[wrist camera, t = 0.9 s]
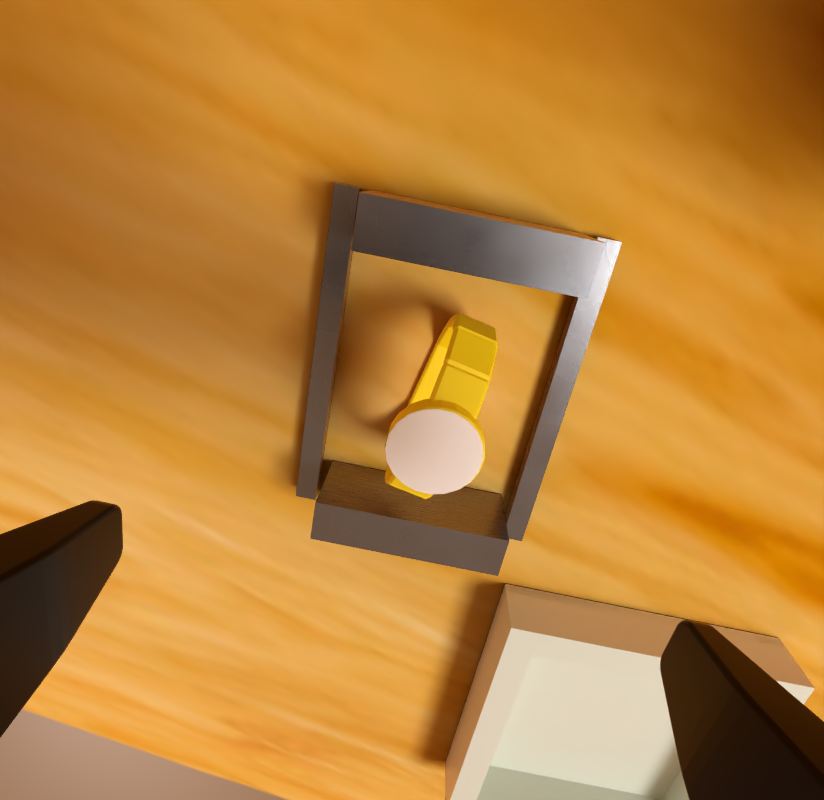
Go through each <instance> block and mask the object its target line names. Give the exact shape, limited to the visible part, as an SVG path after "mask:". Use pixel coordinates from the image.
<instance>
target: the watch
mask: <svg viewBox="0 0 824 800" xmlns="http://www.w3.org/2000/svg"><path fill="white" fill-rule="evenodd" d="M497 347H498V341H497V334H496V330H495V328H494V327H492V326H489V325H487V324H485V323H482V322H480V321H478V320H475V319H473V318H471V317H468V316H466V315H464V314H462V313H457V314H455V315H454V316H453V317H451V318H450V319H449V321H448V322H447V324H446V325H445V327H444V329H443V330H442V332H441V334H440V336H439V337H438V340H437V342H436V344H435V346H434V349H433V351H432V353H431V355H430V357H429V360H428V362H427V364H426V366H425V368H424V370H423V373H422V375H421V377H420V379H419V381H418V384H417V386H416V388H415V390H414V392H413V395H412V397H411V398H410V399H409V403H408V405H407V407H406V408H404V409H403V410H402V411H400V412H399V413H398V414H397V416H396V417H395V419H394V420H393V422H392V423H391V425H390V429H389V432H388V436H387V440H386V444H385V450H386V459H387V468H386V474H385V482H386V484H389V485H391V486H394V487H396V488H399V489H401V490H404V491H406V492H409V493H411V494H414V495H416V496H419V497H421V498H424V499H428V498H430V497H431V496H432V495H433V494H446V493H449V492H453V491H456V490H459V489H461V488H463V487H464V486H466V485H467V484H469V483H470V482H472V481H473V479H474V478H475V477H476V476H477V475H478V473H479V472H480V471H481V469H482V466H483V463H484V460H485V437H484V433H483V430H482V428H481V425H480V423H479V421H478V420H477V416H478V413H479V410H480V408H481V405H482V402H483V400H484V397H485V394H486V392H487V389H488V386H489V381H490V379H491V376H492V372H493V367H494V363H495V359H496V354H497V350H498V348H497Z"/></svg>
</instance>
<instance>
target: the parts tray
mask: <svg viewBox="0 0 824 800" xmlns="http://www.w3.org/2000/svg"><path fill="white" fill-rule="evenodd" d="M682 620H685V619H680V618H675V617H670V616H665V615H660V614H655V613H650V612H645V611H640V610H635V609H630V608H625V607H620V606H615V605H610V604H605V603H600V602H595V601H590V600H585V599H580V598H575V597H570V596H565V595H559V594H554V593H549V592H544V591H539V590H534V589H529V588H524V587H519V586H514V585H509V584H505V586H504V589H503V592H502V595H501V598H500V601H499V604H498V607H497V610H496V613H495V616H494V619H493V622H492V625H491V628H490V631H489V634H488V637H487V640H486V643H485V646H484V649H483V652H482V655H481V658H480V661H479V664H478V667H477V670H476V673H475V676H474V679H473V682H472V685H471V688H470V691H469V694H468V697H467V700H466V703H465V706H464V709H463V712H462V715H461V718H460V721H459V724H458V727H457V730H456V733H455V736H454V739H453V742H452V745H451V748H450V750H449V753H448V756H447V759H446V762H445V800H689V797H688V794H687V791H686V787H685V783H684V780H683V776H682V773H681V768H680V764H679V760H678V755H677V750H676V746H675V741H674V736H673V731H672V726H671V721H670V716H669V711H668V706H667V701H666V697H665V692H664V687H663V682H662V677H661V671H660V660H661V656H662V653H663V651H664V650H665V648H666V646H667V644H668V642H669V640H670V638H671V636H672V634H673V632H674V630H675V628H676V627H677V625H678V623H680V622H681V621H682ZM709 625H710V624H709ZM711 626H713V627H714V628H715V629H716V630H717V631H719V632H720V633H721V634H722V635H723V636H724V637H726V638H727V639H728V640H729V641H730V642H731V643H733V644H734V645H735V646H736V647H737V648H738V649H739V650H741V651H742V652H743V653H744V654H745V655H746V656H748V657H749V658H750V659H751V660H752V661H753V662H755V663H756V664H757V665H758V666H759V667H760V668H762V669H763V670H764V671H765V672H766V673H767V674H769V675H770V676H771V677H772V678H773V679H774V680H776V681H777V682H778V683H779V684H780V685H781V686H783V687H784V688H785V689H786V690H787V691H788V692H790V693H791V694H792V695H793V696H794V697H795V698H797V699H798V700H799V701H800V702H801V703H802V704H804V703H805V702H806V700H807V699H808V697H809V696H810V694H811V693H812V692H813V690H814V689H815V688H814V686H813V685H812V683H811V682H810V681H809V679H808V678H807V676H806V675H805V674H804V672H803V671H802V669H801V668H800V667H799V665H798V664H797V663H796V661H795V660H794V658H793V657H792V656H791V654H790V653H789V651H788V650H787V649H786V647H785V646H784V644H783V643H782V642H781V640H780V639H779V638H776V637H771V636H766V635H761V634H755V633H750V632H745V631H740V630H735V629H730V628H725V627H720V626H715V625H711Z"/></svg>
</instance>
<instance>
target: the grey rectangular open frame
mask: <svg viewBox="0 0 824 800" xmlns="http://www.w3.org/2000/svg"><path fill="white" fill-rule="evenodd" d="M361 190H362V188H361V187H357V186H352V185H347V184H342V183H334V189H333V198H332V206H331V214H330V222H329V230H328V238H327V246H326V255H325V263H324V271H323V279H322V287H321V295H320V303H319V312H318V320H317V328H316V336H315V344H314V352H313V360H312V369H311V377H310V385H309V393H308V401H307V409H306V417H305V426H304V434H303V442H302V450H301V458H300V466H299V475H298V483H297V491H296V496H299V497H304V498H309V499H314V500H315V499H316V497H317V494H318V492H319V485H320V478H321V471H322V464H323V457H324V450H325V443H326V436H327V429H328V422H329V415H330V408H331V401H332V394H333V387H334V380H335V373H336V366H337V359H338V352H339V345H340V338H341V331H342V324H343V317H344V310H345V302H346V295H347V288H348V281H349V274H350V267H351V260H352V253H353V251H356V252H361V253H366V254H371V255H376V256H381V257H386V258H390V259H395V260H400V261H405V262H410V263H415V264H420V265H424V266H429V267H434V268H439V269H444V270H449V271H454V272H458V273H463V274H468V275H473V276H478V277H483V278H488V279H492V280H497V281H502V282H507V283H512V284H517V285H522V286H526V287H531V288H536V289H541V290H546V291H551V292H556V293H561V294H565V295H570V296H574V298H573V301H572V304H571V307H570V311H569V314H568V317H567V320H566V323H565V327H564V330H563V333H562V336H561V339H560V343H559V346H558V349H557V352H556V355H555V359H554V362H553V365H552V368H551V371H550V374H549V378H548V381H547V384H546V387H545V390H544V394H543V397H542V400H541V403H540V406H539V410H538V413H537V416H536V419H535V422H534V426H533V429H532V432H531V435H530V438H529V441H528V445H527V448H526V451H525V454H524V457H523V461H522V464H521V467H520V470H519V473H518V477H517V480H516V483H515V486H514V489H513V493H512V496H511V499H510V502H509V505H508V508H507V512H506V515H505V512H504V506H503V500H502V495H501V494H496V493H491V492H486V491H481V490H476V489H471V488H466V487H463V488H461V489H459V490H456V491H453V492H449V493H446V494H433V495H432V496H431V497H430V498H428V499H424V498H421V497H419V496H416V495H414V494H411V493H409V492H406V491H404V490H401V489H399V488H396V487H394V486H391V485H389V484H386V482H385V474H386V471H381V470H376V469H371V468H366V467H361V466H357V465H352V464H347V463H342V462H337V461H333V462H332V464H331V467H330V469H329V471H328V474H327V476H326V479H325V481H324V483H323V486H322V488H321V491H320V493H319V495H318V498H317V500H316V503H315V510H314V517H313V524H312V531H311V539H316V540H321V541H326V542H331V543H336V544H341V545H346V546H351V547H356V548H361V549H366V550H371V551H376V552H381V553H386V554H391V555H396V556H401V557H406V558H411V559H416V560H421V561H426V562H431V563H436V564H441V565H446V566H451V567H456V568H461V569H466V570H471V571H476V572H481V573H486V574H491V575H496V576H498V574H499V571H500V568H501V565H502V562H503V558H504V555H505V552H506V549H507V546H508V543H509V539H514V540H519V541H522V539H523V536H524V533H525V530H526V527H527V524H528V521H529V518H530V515H531V512H532V509H533V506H534V503H535V500H536V497H537V494H538V491H539V488H540V485H541V482H542V479H543V476H544V473H545V470H546V467H547V464H548V461H549V458H550V455H551V452H552V449H553V446H554V443H555V440H556V438H557V435H558V432H559V429H560V426H561V423H562V420H563V417H564V414H565V411H566V408H567V405H568V402H569V399H570V396H571V393H572V390H573V387H574V384H575V381H576V378H577V375H578V372H579V369H580V366H581V363H582V360H583V357H584V354H585V351H586V348H587V345H588V342H589V339H590V336H591V333H592V330H593V327H594V324H595V321H596V318H597V315H598V312H599V310H600V307H601V304H602V301H603V298H604V295H605V292H606V289H607V286H608V283H609V280H610V277H611V274H612V271H613V268H614V265H615V262H616V259H617V256H618V253H619V250H620V247H621V244H622V242H620V241H617V240H612V239H608V238H603V237H598V236H593V237H590V236H587V235H585V234H582V233H579V232H574V231H569V230H564V229H559V228H554V227H550V226H545V225H540V224H535V223H530V222H525V221H521V220H516V219H511V218H506V217H501V216H497V215H492V214H487V213H482V212H477V211H472V210H468V209H463V208H458V207H453V206H448V205H443V204H439V203H434V202H429V201H424V200H419V199H415V198H410V197H405V196H400V195H395V194H390V193H386V192H381V191H376V190H370V191H363V192H361Z"/></svg>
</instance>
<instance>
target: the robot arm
mask: <svg viewBox="0 0 824 800" xmlns="http://www.w3.org/2000/svg"><path fill="white" fill-rule="evenodd" d="M122 549H123V533H122V512H121V509H120V507H119V506H117V505H115V504H111V503H106V502H101V501H89V502H86V503H83V504H80V505H78V506H75V507H72V508H70V509H67V510H64V511H62V512H59V513H56V514H54V515H51V516H48V517H46V518H43V519H40V520H37V521H35V522H32V523H29V524H27V525H24V526H21V527H19V528H16V529H13V530H11V531H8V532H5V533H3V534H0V737H1V736H2V735H3V733H4V732H5V731H6V729H7V728H8V727H9V725H10V724H11V723H12V721H13V720H14V719H15V717H16V716H17V715H18V713H19V712H20V711H21V709H22V708H23V707H24V705H25V704H26V703H27V701H28V700H29V699H30V697H31V696H32V694H33V693H34V692H35V690H36V689H37V688H38V686H39V685H40V684H41V682H42V681H43V680H44V678H45V677H46V676H47V674H48V673H49V672H50V670H51V669H52V668H53V666H54V665H55V663H56V662H57V661H58V659H59V658H60V656H61V655H62V654H63V652H64V651H65V649H66V648H67V646H68V644H69V643H70V641H71V640H72V638H73V637H74V635H75V633H76V632H77V630H78V628H79V627H80V625H81V623H82V622H83V620H84V618H85V617H86V615H87V613H88V612H89V610H90V608H91V607H92V605H93V603H94V602H95V600H96V598H97V597H98V595H99V593H100V592H101V590H102V588H103V587H104V585H105V583H106V582H107V580H108V578H109V577H110V575H111V573H112V572H113V570H114V568H115V567H116V565H117V563H118V562H119V559H120V557H121V554H122ZM660 671H661V677H662V682H663V687H664V692H665V697H666V701H667V706H668V711H669V716H670V721H671V726H672V731H673V736H674V741H675V746H676V750H677V755H678V760H679V764H680V768H681V773H682V776H683V780H684V783H685V787H686V791H687V794H688V797H689V800H824V722H823V721H822V720H821V719H820V718H819V717H818V716H816V715H815V714H814V713H813V712H812V711H811V710H809V709H808V708H807V707H806V706H805V705H804V704H802V703H801V702H800V701H799V700H798V699H797V698H795V697H794V696H793V695H792V694H791V693H790V692H788V691H787V690H786V689H785V688H784V687H783V686H781V685H780V684H779V683H778V682H777V681H776V680H774V679H773V678H772V677H771V676H770V675H769V674H767V673H766V672H765V671H764V670H763V669H762V668H760V667H759V666H758V665H757V664H756V663H755V662H753V661H752V660H751V659H750V658H749V657H748V656H746V655H745V654H744V653H743V652H742V651H741V650H739V649H738V648H737V647H736V646H735V645H734V644H733V643H731V642H730V641H729V640H728V639H727V638H726V637H724V636H723V635H722V634H721V633H720V632H719V631H717V630H716V629H715V628H714V627H713V626H711V625H709V624H706V623H702V622H697V621H692V620H682V621H681V622H680V623H678V625H677V627H676V628H675V630H674V632H673V634H672V636H671V638H670V640H669V642H668V644H667V646H666V648H665V650H664V651H663V653H662V656H661V660H660Z"/></svg>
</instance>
